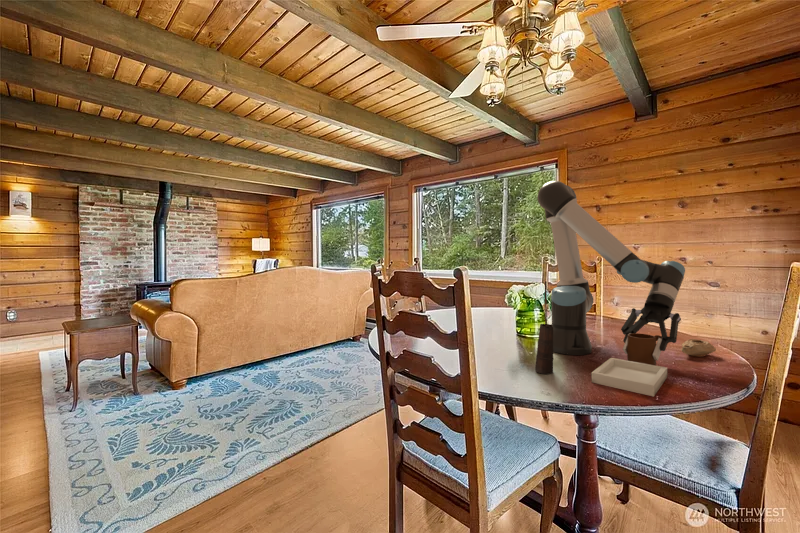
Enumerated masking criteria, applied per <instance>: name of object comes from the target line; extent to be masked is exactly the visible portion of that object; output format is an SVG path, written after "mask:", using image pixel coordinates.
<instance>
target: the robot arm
mask: <svg viewBox="0 0 800 533" xmlns="http://www.w3.org/2000/svg"><path fill="white" fill-rule="evenodd" d="M537 200H538V204H539V205H540V206H539V207H541V208H542V209H544V214H545V220H546V221H547V222H549V223H550V226H551V231H552V232H551V233H552V238H553V243H554V244H553V245H554V252H555V257H556V263H557V270H558V276H559V281H558V282H557V284H556V287H554V288H553V289H552V290H551V295H550V299H551V302H550V303H551V304H550V305H551V324H552V325H553V342H554V344H553V353H557V354H560V355H561V354H562V355H568V356H570V355H571V356H585V355H590V354H591V353H592V352H593V351H592V350H593V349H592V348H593V347H592V343H591V340H590V337H589V334H588V332H587V313H589V311H591V309H592V307H593V305H594V304H593V303H594V297H593V294H592V293H591V292H592V291H590V283H589V280H588V279H586V278H585V277H584V274H583V267H582V261H581V255H580V249H579V244H578V238H577V235H578V236H579V237H580V238H581V239H582V240H583V241H584V242H586V243H587V244H588V246H590V247H591V248H592V249H593V250H594V251H595V252H597V253H598V254H599V256H601V257H602V258H603V259H604V260H605V261H607V263H609V264H610V265H611V267H613V268H614V269H615V270H616V273H617V274H618V275H620V276H621V277H622V278H623V280H625V281H626V282H629V283H632V284H633V283H638V284H639V283H642V282H643V283H646V284H650V285H651V288H650V290H649V292H648V295H647V298H646V300H645V303H644V306H643V307H642V308H641V309H636V308H632V309H631V310H630V311H631V312H630V314H629V316H628V317H627V318H626V320H625V322H624V323H623V325H622V327H621V328H620V331H621V332H622V334H623V335H624V338H623V343H624V345H623V348H622V350H623V352H624V354H625V355H627V338H628V334H632V333H637V332H639V331H640V330H641V329H642V328H644V326H646V325H648V324H649V323H655V324H658V325H659V326H658V327H659V329H660V330H659V331H660V336H662V339H661V338H659V339H658V341H656V347H655V350H654V352H653V357H654V359H655V360H656V362H658V361H659V358H660V356H661V353H662V352H665V351H666V350H667V346H668V344H669V343H672V344H675V343H677V340H678V329H679V324H680V322H681V320H682V318H681V315H680V314H679V313H678V312H675V313H672V311H673V308H674V304H675V302H676V300H677V296H678V294H679V291H680V290H681V286H682V283H683V281H684V278H685V274H686V268H685V266H684V265H683V264H682V263H680V262H679V261H675V260H664V261H663V262H661V264H659V263H655V262H652V261H649V260H648V261H647V260H644V259H641V258H639V256H637V255H636V254H635V253H634V252H633V251H632V250H630V249H629V248H628V247H627V246H626V245H625V244H624V243H623V242H622V241H620V240H619V239H618V238H617V237H616V236H615V235H613V234H612V233H611V232H610V231H609V230H608V229H606V227H605V226H603V225H602V224H601V223H600V222H599V221H598V220H597V219H595V218H594V217H593V216H592V215H591V214H590V213H589V212H588V211H586V210H585V209H584V208H583V207H582V206H581V205H580V204H579V203H578V199H577V194H576V193H575V191H574V189H573V188H571V187H570V186H569V185H567V184H566V183H564V182H562V181H559V180H551V181H548V182H546V183H544V184H543V185H542V186H541V187H540V188H539V190H538V193H537ZM640 315H641V316H640ZM638 317H639V319H638ZM668 319H671V322H670V328H669V329H670V330H669V335H668V332H667V329H666V323H665V321H666V320H668Z"/></svg>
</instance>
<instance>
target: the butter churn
mask: <svg viewBox="0 0 800 533" xmlns="http://www.w3.org/2000/svg"><path fill="white" fill-rule="evenodd" d="M547 283H548V282H547V281H546V280H545V281H544V319H545V320H544V321H545V322H544V323H541V324H540V325H539V331H538V332H539V333H538V340H537V348H536V349H537V350H536V357H535V364H534V365H535V368H534V370H535V372H536V373H539V374H544V375H547V374H553V373H554V352H553V344H554V342H553V325H552V323H551V324H549V323H548V308H547V307H548V306H547V305H548V303H547V299H548V298H547V297H548V294H547V292H548V291H547V290H548V288H547V286H548V285H547Z"/></svg>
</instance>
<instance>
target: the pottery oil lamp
mask: <svg viewBox="0 0 800 533" xmlns="http://www.w3.org/2000/svg"><path fill="white" fill-rule="evenodd" d="M680 350H681V352H682V353H683V354H686V355H688V356H689V355H690V356H693V357H697V358H698V357H701V358H702V357H705V356H707V355H710V354H712V353H713V352H716V351H717V348H716V347H715V345H713V344H711V343H710V342H709V341H707V340H702V339H696V338H690V339H687V340H685V341H684V342H683V343H682V344H681V349H680Z"/></svg>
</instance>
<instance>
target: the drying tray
mask: <svg viewBox="0 0 800 533" xmlns="http://www.w3.org/2000/svg"><path fill="white" fill-rule="evenodd" d="M667 378H668V367H665V366H661V365H660V366H659V365H656V366H655V365H650V364H644V363H638V362H633V361H628V360H626V359H620V358H615V357H610V358H609V359H606V361H605V362H603V363H602V364H601V365H599V366H597V368H595V369H594V370H593V371H592V372H591V383H593V384H597V385H602V386H606V387H610V388H615V389H619V390H623V391H628V392H632V393H637V394H641V395H646V396H648V397H649V396H650V397H655V396H656V394H657V393H658V391H659V390H660V388H661V387H662V385H663V384H664V382H666V379H667Z"/></svg>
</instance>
